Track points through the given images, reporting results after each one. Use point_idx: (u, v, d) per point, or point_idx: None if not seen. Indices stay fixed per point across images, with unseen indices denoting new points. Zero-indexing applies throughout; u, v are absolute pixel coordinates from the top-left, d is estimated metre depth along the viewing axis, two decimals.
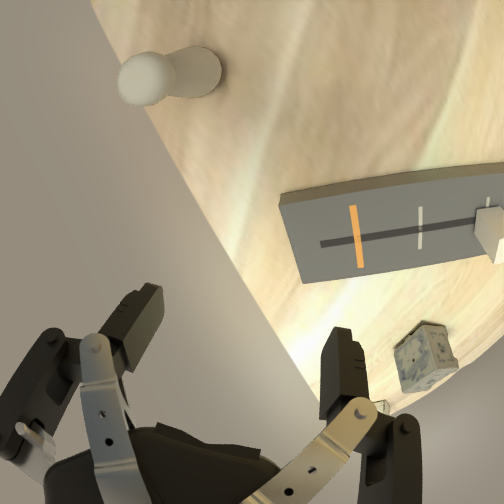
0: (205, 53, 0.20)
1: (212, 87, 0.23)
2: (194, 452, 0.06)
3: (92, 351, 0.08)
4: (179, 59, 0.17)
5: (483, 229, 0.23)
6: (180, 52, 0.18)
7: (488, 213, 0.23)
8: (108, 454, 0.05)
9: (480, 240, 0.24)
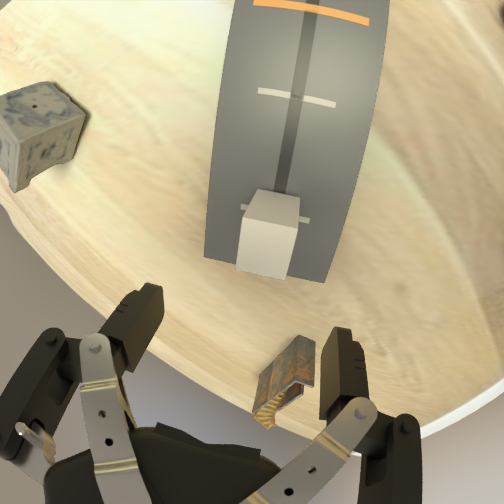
0: None
1: None
2: (194, 452, 0.06)
3: (92, 351, 0.08)
4: None
5: (281, 203, 0.20)
6: None
7: None
8: (108, 454, 0.05)
9: (258, 197, 0.21)
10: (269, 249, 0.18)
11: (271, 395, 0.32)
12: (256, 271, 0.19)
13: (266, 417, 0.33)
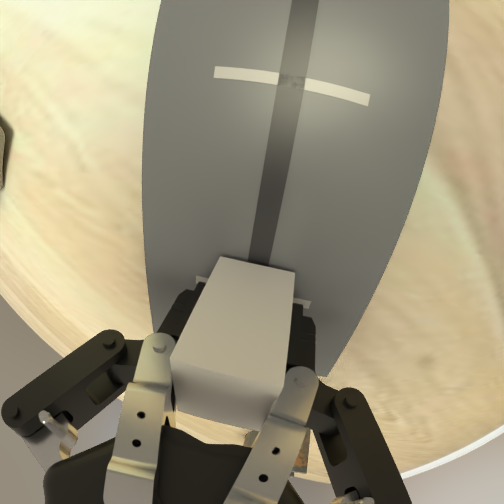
0: None
1: None
2: (194, 452, 0.06)
3: (158, 352, 0.09)
4: None
5: (258, 297, 0.11)
6: None
7: None
8: (130, 454, 0.05)
9: (216, 283, 0.11)
10: (230, 402, 0.08)
11: None
12: (211, 418, 0.10)
13: None
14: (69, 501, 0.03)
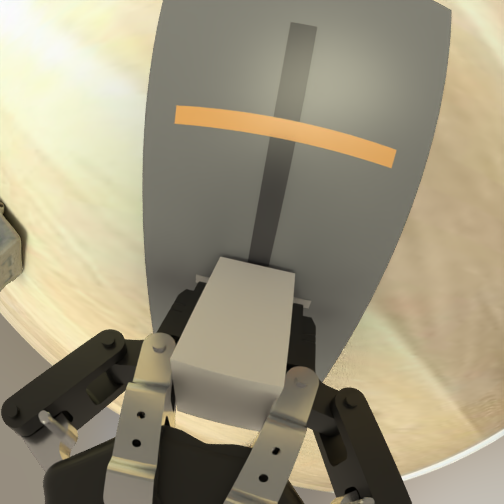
0: None
1: None
2: (194, 452, 0.06)
3: (158, 351, 0.09)
4: None
5: (259, 298, 0.11)
6: None
7: None
8: (130, 454, 0.05)
9: (216, 283, 0.11)
10: (230, 403, 0.08)
11: None
12: (211, 418, 0.10)
13: None
14: (69, 501, 0.03)
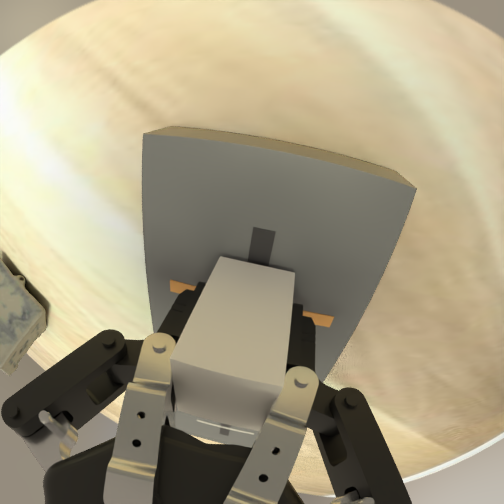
0: None
1: None
2: (194, 452, 0.06)
3: (158, 352, 0.09)
4: None
5: (258, 297, 0.11)
6: None
7: None
8: (130, 454, 0.05)
9: (216, 283, 0.11)
10: (230, 402, 0.08)
11: None
12: (212, 418, 0.10)
13: None
14: (69, 501, 0.03)
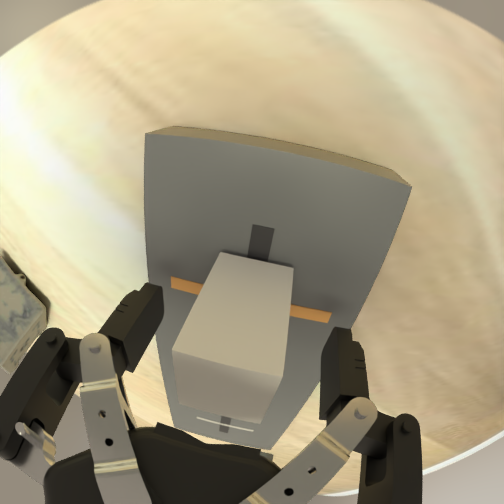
0: None
1: None
2: (194, 452, 0.06)
3: (92, 351, 0.08)
4: None
5: (258, 291, 0.11)
6: None
7: None
8: (108, 454, 0.05)
9: (216, 277, 0.11)
10: (230, 394, 0.09)
11: None
12: (212, 411, 0.10)
13: None
14: (74, 502, 0.03)
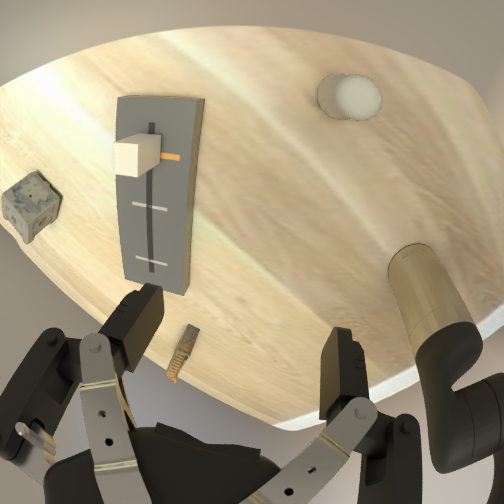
0: (348, 118, 0.27)
1: (319, 102, 0.28)
2: (194, 452, 0.06)
3: (92, 351, 0.08)
4: None
5: (144, 137, 0.30)
6: None
7: (156, 145, 0.32)
8: (108, 454, 0.05)
9: (133, 135, 0.31)
10: (127, 158, 0.28)
11: (172, 360, 0.53)
12: (123, 173, 0.29)
13: (173, 375, 0.55)
14: (74, 502, 0.03)
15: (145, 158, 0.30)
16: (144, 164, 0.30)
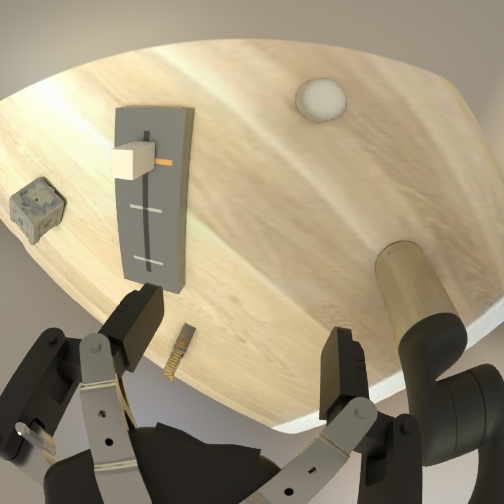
0: None
1: (297, 106, 0.31)
2: (194, 452, 0.06)
3: (92, 351, 0.08)
4: None
5: (139, 144, 0.34)
6: None
7: (150, 151, 0.35)
8: (108, 454, 0.05)
9: (130, 143, 0.34)
10: (123, 163, 0.31)
11: None
12: (120, 177, 0.32)
13: (170, 373, 0.56)
14: (74, 502, 0.03)
15: (140, 163, 0.33)
16: (139, 168, 0.33)
